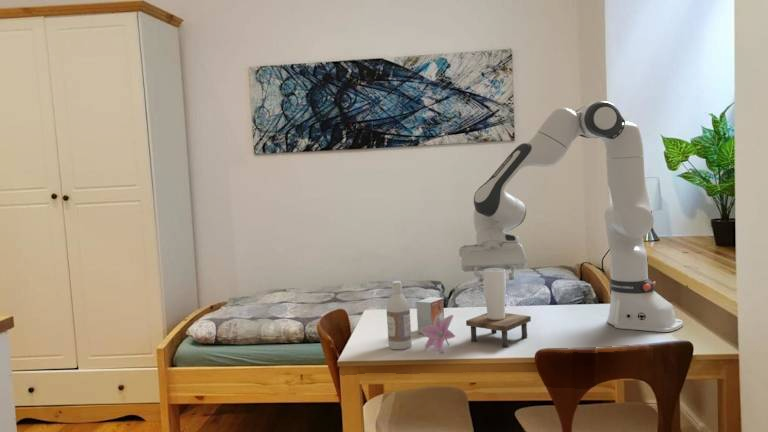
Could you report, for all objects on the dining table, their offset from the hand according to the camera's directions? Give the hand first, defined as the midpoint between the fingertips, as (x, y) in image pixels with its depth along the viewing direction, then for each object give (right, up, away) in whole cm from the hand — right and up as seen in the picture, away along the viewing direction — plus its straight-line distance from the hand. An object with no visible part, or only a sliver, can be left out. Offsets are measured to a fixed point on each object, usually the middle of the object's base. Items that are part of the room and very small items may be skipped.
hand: (496, 279), depth 205 cm
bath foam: (-29, -20, -3) cm, 36 cm away
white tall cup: (0, -12, -1) cm, 12 cm away
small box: (-19, -18, +13) cm, 30 cm away
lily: (-18, -20, -6) cm, 28 cm away
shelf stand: (+1, -18, -1) cm, 18 cm away
